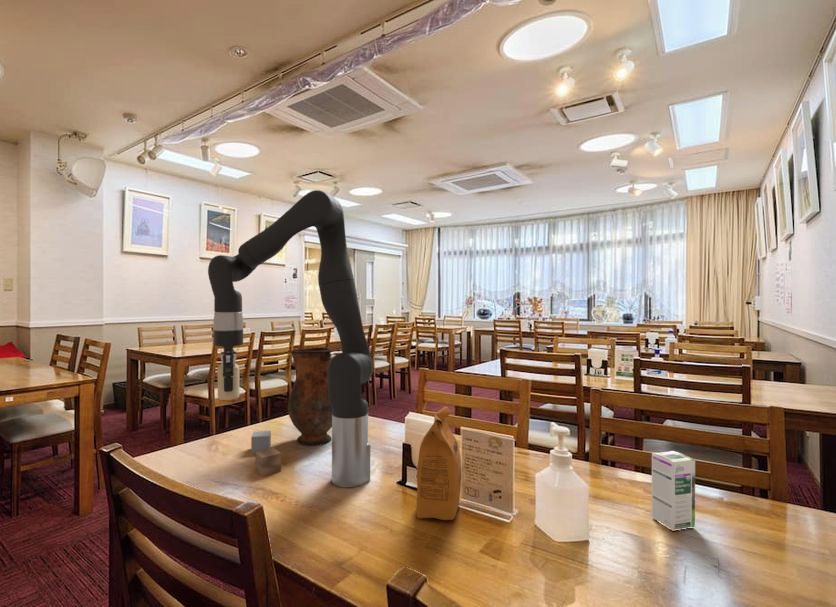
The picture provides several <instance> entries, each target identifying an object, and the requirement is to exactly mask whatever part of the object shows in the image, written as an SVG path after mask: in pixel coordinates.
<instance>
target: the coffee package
mask: <svg viewBox="0 0 836 607" xmlns="http://www.w3.org/2000/svg"><path fill="white" fill-rule="evenodd" d="M450 415H451V410H450V409H449V407H448V406H444V407H442V408H441V409H439V410H438V411H436V413H434V418H433V419H434V420H433V424H432V425H431V427H430V428H429V429H428V431H427V432H426V433H425V434H424V436H423V438H422V441H421V443H420V447H419V452H418V460H417V469H416V487H417V488H416V507H415V509H416V510H415V511H416V517H417V518H418V519H438V520H442V521H450V520H451V521H453V520H454V519H455V518H456V516H457V512H458V509H459V504H460V498H461V486H462V459H461V458H462V457H461V451H460V447H459V444H458V440H457V439H456V437H455V435H454V434H453V432H452V431H451V429H450V426H449V423H448V421H447V417H449V416H450Z"/></svg>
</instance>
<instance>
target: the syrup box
mask: <svg viewBox="0 0 836 607" xmlns="http://www.w3.org/2000/svg"><path fill="white" fill-rule="evenodd" d="M695 506H696V460H695V459H694V458H692V457H690V456H688V455H686V454H684V453H681V452H678V451H674V450H670V451H662V452H652V453H651V518H652V517H653V518H655V519H656V520H658V521H660V522H661V523H663V524H665V525H666V526H668V527H669V528H671V529H673V530H675V529H682V528H688V527H694V526H695V527H696V507H695Z"/></svg>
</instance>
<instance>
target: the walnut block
mask: <svg viewBox="0 0 836 607" xmlns="http://www.w3.org/2000/svg"><path fill="white" fill-rule="evenodd" d="M255 470H256V471H257V473H258V474H259V475H260V476H261V477H265V476H267V475H272V474H276V473H280V472H282V453H281V452H280V451H279V450H277V449H276V448H275V447H272V448H271V447H270V449H267V450H262V451H258V452H256V453H255Z"/></svg>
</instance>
